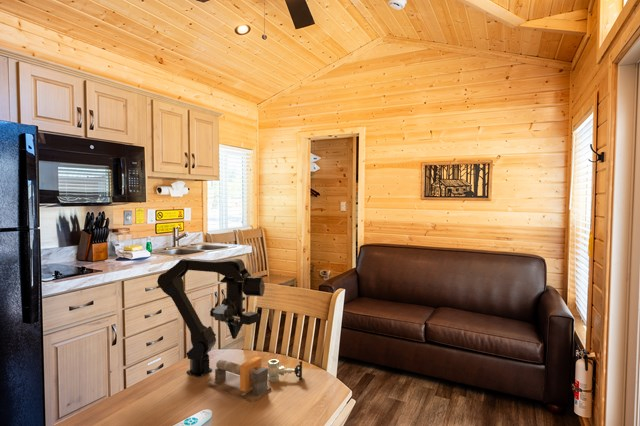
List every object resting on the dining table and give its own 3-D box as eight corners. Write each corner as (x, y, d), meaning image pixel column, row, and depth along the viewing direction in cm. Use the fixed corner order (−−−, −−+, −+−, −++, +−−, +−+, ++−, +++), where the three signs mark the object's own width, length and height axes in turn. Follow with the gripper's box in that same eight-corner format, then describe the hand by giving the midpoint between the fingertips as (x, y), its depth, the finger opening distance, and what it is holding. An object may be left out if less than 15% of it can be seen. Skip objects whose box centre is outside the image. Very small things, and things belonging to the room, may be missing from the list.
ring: (240, 390, 120) (240, 365, 120) (256, 380, 127) (256, 356, 126) (244, 391, 119) (245, 366, 119) (261, 381, 126) (261, 357, 125)
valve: (266, 384, 128) (301, 384, 128) (266, 365, 128) (302, 365, 128) (268, 375, 135) (301, 375, 135) (268, 357, 134) (302, 357, 135)
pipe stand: (207, 385, 127) (207, 361, 126) (226, 374, 134) (226, 352, 134) (253, 402, 116) (253, 376, 116) (271, 390, 124) (271, 365, 124)
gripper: (198, 296, 132) (198, 340, 132) (238, 304, 122) (238, 351, 123) (221, 289, 141) (221, 331, 142) (260, 296, 132) (260, 341, 132)
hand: (234, 338), depth 134 cm, fingers closed
